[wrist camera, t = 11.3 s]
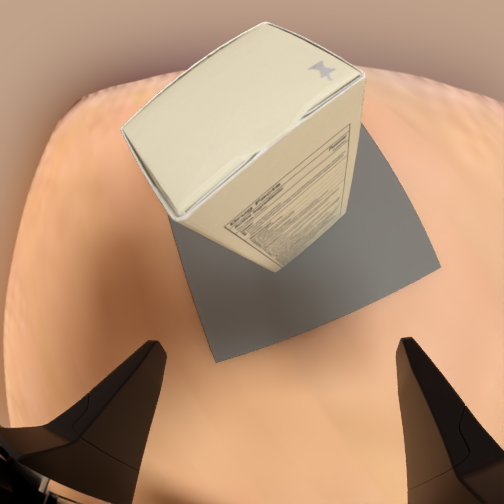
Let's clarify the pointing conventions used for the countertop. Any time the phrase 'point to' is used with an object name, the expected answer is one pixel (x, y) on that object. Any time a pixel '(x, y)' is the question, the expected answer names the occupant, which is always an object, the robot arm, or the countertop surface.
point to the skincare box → (254, 143)
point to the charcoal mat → (311, 266)
